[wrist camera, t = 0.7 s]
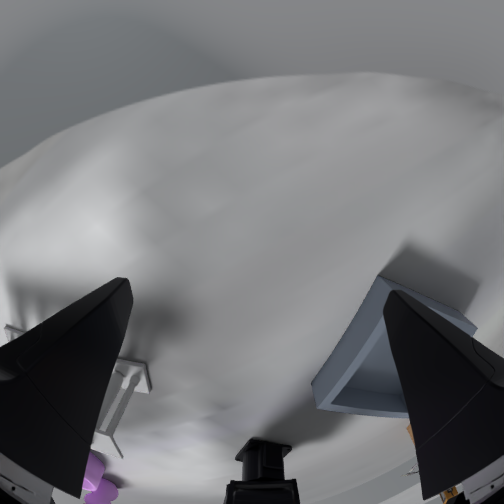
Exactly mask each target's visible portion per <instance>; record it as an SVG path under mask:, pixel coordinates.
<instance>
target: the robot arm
mask: <svg viewBox="0 0 504 504" xmlns="http://www.w3.org/2000/svg"><path fill="white" fill-rule="evenodd" d="M132 306H133V295H132V290H131V286H130V282H129V280H128V279H127V278H121V277H117V278H115V279H113V280H111V281H110V282H108V283H106V284H104V285H103V286H101V287H99V288H98V289H96V290H94V291H92V292H91V293H89V294H87V295H86V296H84V297H82V298H81V299H79V300H77V301H76V302H74V303H72V304H71V305H69V306H67V307H66V308H64V309H63V310H61V311H59V312H58V313H56V314H54V315H53V316H51V317H50V318H48V319H46V320H45V321H43V322H42V323H40V324H39V325H37V326H35V327H34V328H32V329H31V330H29V331H27V332H26V333H24V334H23V335H21V336H19V337H17V338H16V339H14V340H12V341H10V342H8V343H7V344H5V345H3V346H1V347H0V504H55V502H54V500H53V498H52V492H53V488H54V487H55V488H57V489H59V490H61V491H63V492H65V493H67V494H70V495H71V496H74V497H76V498H78V499H80V496H81V491H82V486H83V481H84V476H85V471H86V466H87V462H88V457H89V453H90V449H91V444H92V440H93V436H94V432H95V429H96V425H97V421H98V418H99V414H100V411H101V407H102V404H103V400H104V397H105V394H106V391H107V388H108V384H109V381H110V378H111V375H112V372H113V369H114V366H115V363H116V361H117V358H118V355H119V352H120V349H121V346H122V343H123V341H124V337H125V333H126V329H127V325H128V321H129V317H130V313H131V310H132ZM383 317H384V321H385V326H386V330H387V335H388V340H389V344H390V349H391V352H392V356H393V359H394V362H395V366H396V369H397V373H398V376H399V380H400V384H401V387H402V391H403V395H404V399H405V403H406V407H407V411H408V415H409V420H410V424H411V429H412V433H413V438H414V443H415V449H416V455H417V461H418V466H419V473H420V480H421V488H422V496H423V500H426V499H429V498H431V497H433V496H436V495H438V494H440V493H442V492H444V491H446V490H448V489H450V488H452V487H454V486H456V485H458V484H460V483H462V487H463V492H461V493H459V494H457V495H455V496H453V497H452V498H450V499H448V500H447V502H446V504H504V358H502V357H501V356H499V355H498V354H496V353H495V352H493V351H491V350H490V349H488V348H487V347H486V346H484V345H483V344H481V343H480V342H478V341H477V340H476V339H474V338H473V337H471V336H470V335H468V334H467V333H466V332H464V331H463V330H461V329H460V328H458V327H457V326H455V325H454V324H453V323H451V322H450V321H448V320H447V319H445V318H444V317H442V316H441V315H439V314H438V313H436V312H435V311H433V310H432V309H430V308H429V307H427V306H426V305H424V304H423V303H421V302H420V301H418V300H417V299H415V298H414V297H412V296H410V295H409V294H407V293H406V292H404V291H403V290H391V291H390V292H389V294H388V297H387V300H386V302H385V305H384V307H383ZM291 450H292V447H291V446H288V445H281V444H275V443H269V442H263V441H258V440H253V439H252V440H249V441H248V442H247V443H246V445H245V446H244V447H243V448H242V450H241V451H240V452H239V453H238V454H237V456H236V457H235V460H236V461H241V462H243V469H242V481H235V480H231V481H230V484H228V485H227V488H226V496H225V500H224V503H223V504H300V499H299V493H298V487H297V482H296V479H291V480H285V477H284V461H283V458H284V457H285V456H286V455H287V454H288V453H289V452H290V451H291Z"/></svg>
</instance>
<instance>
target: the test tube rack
mask: <svg viewBox="0 0 504 504" xmlns="http://www.w3.org/2000/svg"><path fill="white" fill-rule="evenodd" d="M4 331H5V333H6V336H7V339H8V341H9V342H10V341H12V340H14V339H16V338H17V337H19V336H21V335H23V334H24V333H23V332H21V331H18V330H15V329H13V328H10V327H7V326H6V327H4ZM120 388H124V389H126V391H125V393H124V395H123V397H122V399H121V401H120V403H119V405H118V407H117V409H116V411H115V413H114V415H113V417H112V419H111V421H110V423H109V425H108V427H107V430H106V432H104V431H101V430H99V429H100V427H101V425H102V423H103V421H104V419H105V417H106V415H107V413H108V411H109V409H110V407H111V405H112V403H113V401H114V399H115V398H116V396H117V394H118V392H119V390H120ZM133 391H137V392H142V393H147V394H150V391H151V388H150V383H149V379H148V375H147V370H146V366H145V364H143V363H137V362H132V361H127V360H122V359H117V361H116V363H115V366H114V369H113V372H112V375H111V378H110V381H109V384H108V388H107V391H106V394H105V397H104V400H103V404H102V407H101V411H100V414H99V418H98V421H97V425H96V429H95V432H94V436H93V440H92V444H91V449H93V450H95V451H98V452H101V453H104V454H107V455H110V456H113V457H116V458H120V459H123V455H122V453H121V451H120V449H119V448H118V446H117V444H116V442H115V440H114V438H113V434H114V432H115V430H116V427H117V425H118V423H119V421H120V419H121V416H122V414H123V412H124V410H125V408H126V406H127V404H128V401H129V399H130V397H131V395H132V393H133ZM93 441H94V442H93Z"/></svg>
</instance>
